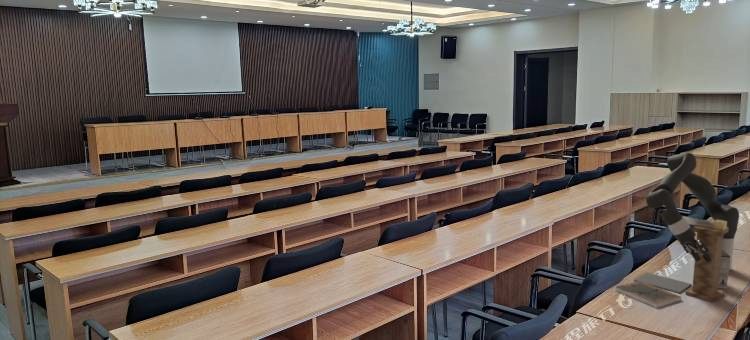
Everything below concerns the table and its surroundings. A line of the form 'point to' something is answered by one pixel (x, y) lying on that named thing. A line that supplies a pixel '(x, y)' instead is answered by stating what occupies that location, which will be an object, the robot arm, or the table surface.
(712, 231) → the walnut stand
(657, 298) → the picture frame
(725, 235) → the robot arm
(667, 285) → the rubber mat
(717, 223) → the steel bar
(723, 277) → the coffee box
